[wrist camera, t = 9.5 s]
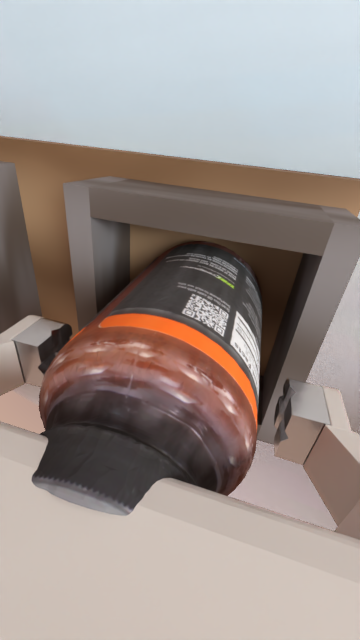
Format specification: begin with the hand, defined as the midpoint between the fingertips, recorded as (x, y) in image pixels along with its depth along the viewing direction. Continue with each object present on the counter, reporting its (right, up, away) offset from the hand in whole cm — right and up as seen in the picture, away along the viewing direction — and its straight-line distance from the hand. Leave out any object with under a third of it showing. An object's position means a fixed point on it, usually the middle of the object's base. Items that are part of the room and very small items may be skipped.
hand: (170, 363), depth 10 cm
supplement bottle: (+2, +3, +5) cm, 6 cm away
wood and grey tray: (-5, +5, +7) cm, 10 cm away
